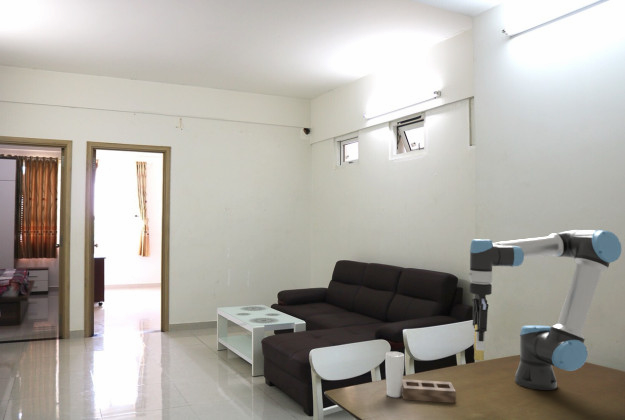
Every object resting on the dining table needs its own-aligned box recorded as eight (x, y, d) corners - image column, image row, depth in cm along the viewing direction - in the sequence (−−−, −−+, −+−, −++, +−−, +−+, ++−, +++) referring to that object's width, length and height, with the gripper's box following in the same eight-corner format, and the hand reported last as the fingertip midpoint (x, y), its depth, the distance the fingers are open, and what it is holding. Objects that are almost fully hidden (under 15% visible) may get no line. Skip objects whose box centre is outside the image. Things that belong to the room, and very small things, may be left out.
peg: (482, 358, 175) (482, 324, 176) (484, 360, 172) (485, 326, 172) (473, 357, 175) (473, 324, 176) (475, 360, 172) (476, 326, 173)
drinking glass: (404, 393, 179) (405, 352, 179) (401, 400, 173) (402, 357, 173) (386, 391, 181) (387, 350, 182) (382, 397, 175) (383, 355, 175)
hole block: (450, 392, 181) (450, 382, 181) (455, 402, 171) (455, 391, 171) (401, 389, 183) (401, 379, 183) (403, 399, 173) (403, 388, 173)
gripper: (465, 279, 183) (463, 342, 182) (474, 285, 167) (473, 354, 166) (485, 280, 182) (484, 343, 181) (497, 286, 166) (495, 355, 166)
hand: (478, 348), depth 174 cm, fingers closed on peg, 3 cm apart
